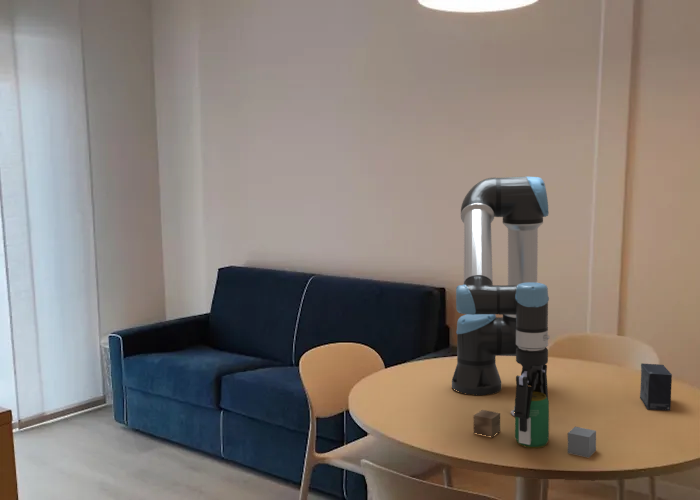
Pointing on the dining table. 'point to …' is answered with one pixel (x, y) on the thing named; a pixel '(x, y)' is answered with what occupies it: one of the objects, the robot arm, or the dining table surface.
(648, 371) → the small box
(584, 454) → the slate block
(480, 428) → the walnut block
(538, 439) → the beverage can
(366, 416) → the dining table surface
